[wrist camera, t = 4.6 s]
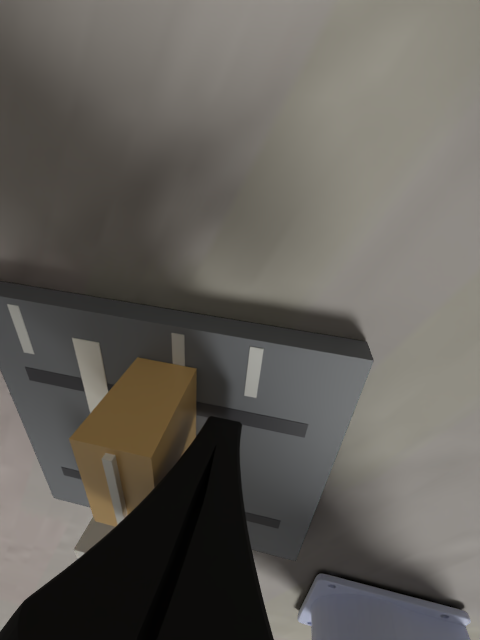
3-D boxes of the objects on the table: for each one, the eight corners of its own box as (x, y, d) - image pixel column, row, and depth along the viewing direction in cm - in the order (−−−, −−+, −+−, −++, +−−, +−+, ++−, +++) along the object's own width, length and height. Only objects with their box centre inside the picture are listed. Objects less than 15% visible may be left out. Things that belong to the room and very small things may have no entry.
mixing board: (366, 341, 11) (373, 361, 10) (296, 538, 18) (295, 561, 17) (-6, 280, 13) (-34, 290, 12) (66, 480, 20) (53, 498, 19)
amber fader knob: (196, 368, 11) (147, 464, 8) (195, 443, 14) (157, 545, 10) (137, 357, 12) (63, 444, 8) (146, 432, 14) (91, 527, 10)
